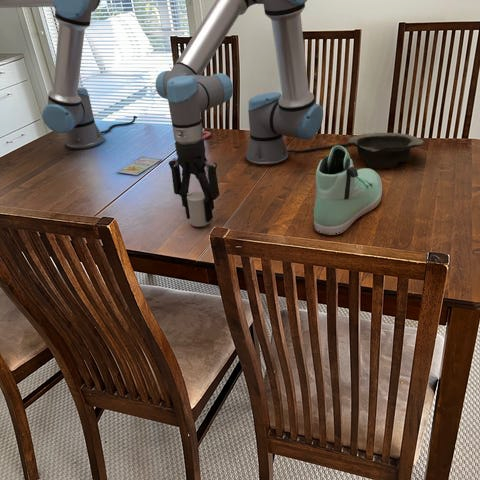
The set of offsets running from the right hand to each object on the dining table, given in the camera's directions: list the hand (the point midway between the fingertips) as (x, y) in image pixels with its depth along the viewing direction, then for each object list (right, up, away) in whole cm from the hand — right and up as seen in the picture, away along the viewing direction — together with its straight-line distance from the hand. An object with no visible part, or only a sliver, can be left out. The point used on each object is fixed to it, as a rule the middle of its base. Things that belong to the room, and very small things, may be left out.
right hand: (199, 218), depth 135 cm
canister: (0, -1, +1) cm, 1 cm away
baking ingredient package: (-26, +21, +42) cm, 54 cm away
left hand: (-91, +50, +47) cm, 115 cm away
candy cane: (-6, +35, +62) cm, 72 cm away
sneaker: (+43, +3, +4) cm, 43 cm away
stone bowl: (+61, +22, +32) cm, 73 cm away
